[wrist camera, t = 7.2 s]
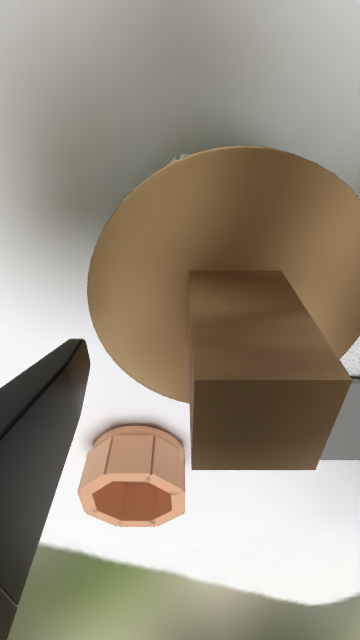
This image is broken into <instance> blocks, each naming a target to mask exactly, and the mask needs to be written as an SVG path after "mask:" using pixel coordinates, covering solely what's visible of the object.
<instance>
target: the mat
mask: <svg viewBox="0 0 360 640" xmlns="http://www.w3.org/2000/svg"><path fill="white" fill-rule="evenodd" d="M352 380H353V381H352V383H351V385H350V388H349V390H348V393H347V395H346V397H345V400H344V402H343V405H342V407H341V409H340V412H339V414H338V417H337V419H336V421H335V424H334V426H333V428H332V431H331V433H330V436H329V438H328V440H327V443H326V445H325V448H324V450H323V452H322V455H321V457H320V460H360V379H352Z"/></svg>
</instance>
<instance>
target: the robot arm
mask: <svg viewBox="0 0 360 640" xmlns="http://www.w3.org/2000/svg"><path fill="white" fill-rule="evenodd" d="M89 371H90V359H89V354H88V349H87V345H86V342H85V340H84V339H69V340H67V341H66V342H65V343H63V344H62V345H60V346H59V347H58V348H56V349H55V350H53V351H52V352H51V353H49V354H48V355H46V356H45V357H44V358H42V359H41V360H39V361H38V362H36V363H35V364H34V365H32V366H31V367H29V368H28V369H27V370H25V371H24V372H22V373H21V374H20V375H18V376H17V377H15V378H14V379H13V380H11V381H10V382H8V383H7V384H6V385H4V386H3V387H1V388H0V640H7V638H8V635H9V632H10V629H11V626H12V623H13V619H14V617H15V614H16V611H17V608H18V607H17V605H18V604H19V601H20V598H21V595H22V592H23V589H24V586H25V583H26V580H27V577H28V574H29V571H30V567H31V565H32V562H33V559H34V556H35V553H36V549H37V546H38V543H39V540H40V537H41V534H42V531H43V528H44V525H45V522H46V519H47V516H48V513H49V510H50V507H51V504H52V501H53V498H54V495H55V492H56V489H57V486H58V483H59V479H60V476H61V473H62V470H63V467H64V464H65V461H66V458H67V455H68V452H69V449H70V446H71V443H72V440H73V437H74V434H75V431H76V428H77V425H78V422H79V418H80V415H81V410H82V406H83V401H84V396H85V391H86V386H87V381H88V376H89Z"/></svg>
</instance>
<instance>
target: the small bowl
mask: <svg viewBox="0 0 360 640" xmlns="http://www.w3.org/2000/svg"><path fill="white" fill-rule="evenodd" d="M78 495H79V498H80V501H81V503H82V506H83V509H84V512H86V514H88V515H91V516H93V517H96V518H98V519H100V520H103V521H105V522H108V523H110V524H112V525H115V526H118V525H119V527H156V526H159V525H162V524H164V523H166V522H168V521H170V520H172V519H174V518H176V517H178V516H180V515H182V514H184V512H185V454H184V450H183V447H182V445H181V444H180V442H179V441H178V440H177V439H176V438H175V437H173V436H172V435H170V434H168V433H167V432H164V431H162V430H159V429H156V428H152V427H148V426H136V425H135V426H123V427H118V428H115V429H112V430H110V431H107V432H106V433H104V434H102V435H101V436H100V437H99V438H98V439H97V440H96V442H95V444H94V447H93V450H91V451H90V452H88V455H87V459H86V463H85V466H84V470H83V473H82V477H81V481H80V484H79V488H78Z"/></svg>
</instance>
